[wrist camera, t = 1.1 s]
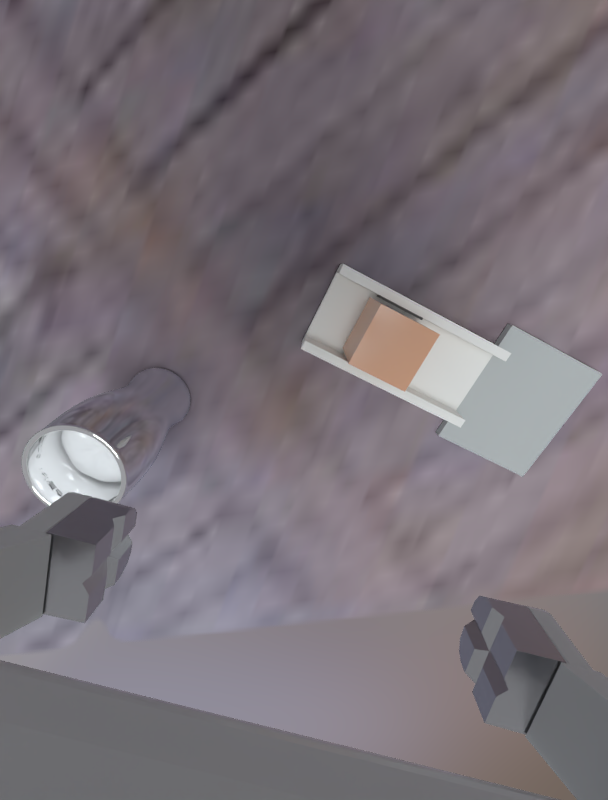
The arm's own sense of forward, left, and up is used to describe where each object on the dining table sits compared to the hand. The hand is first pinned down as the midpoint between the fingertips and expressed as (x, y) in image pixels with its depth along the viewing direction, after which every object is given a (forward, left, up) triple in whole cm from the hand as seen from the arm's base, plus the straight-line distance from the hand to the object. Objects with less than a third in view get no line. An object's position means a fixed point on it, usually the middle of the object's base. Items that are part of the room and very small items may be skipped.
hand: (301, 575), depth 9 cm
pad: (-3, +20, -29) cm, 36 cm away
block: (-3, +5, -28) cm, 29 cm away
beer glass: (+12, -11, -30) cm, 33 cm away
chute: (-3, +7, -29) cm, 30 cm away
